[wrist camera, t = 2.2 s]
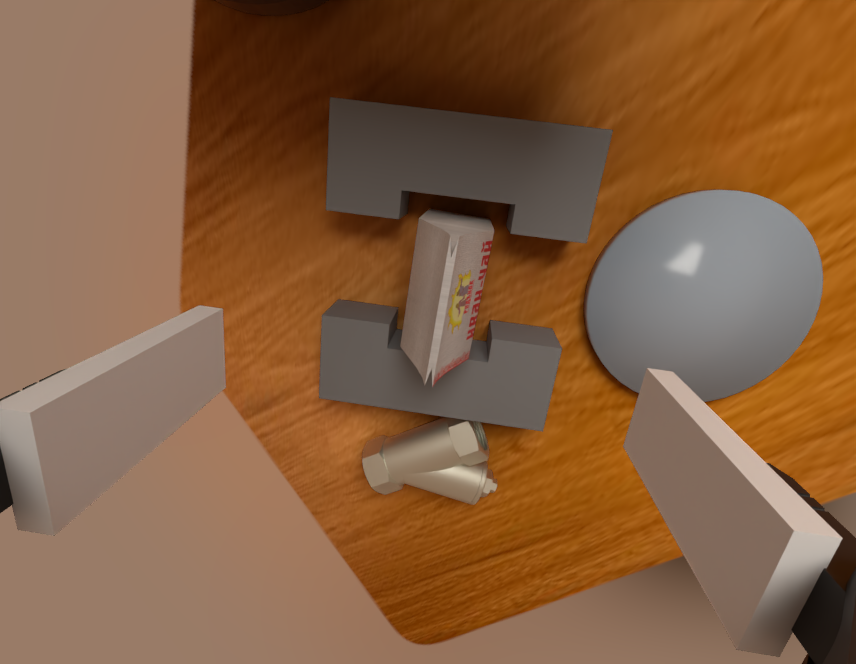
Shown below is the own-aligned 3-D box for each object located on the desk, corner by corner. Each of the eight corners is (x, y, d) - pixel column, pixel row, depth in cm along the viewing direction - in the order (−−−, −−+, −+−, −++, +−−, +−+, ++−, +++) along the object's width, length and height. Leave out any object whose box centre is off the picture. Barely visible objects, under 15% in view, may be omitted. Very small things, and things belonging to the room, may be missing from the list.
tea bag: (413, 313, 30) (386, 378, 21) (429, 208, 28) (407, 227, 18) (469, 323, 30) (467, 393, 20) (489, 218, 27) (498, 243, 18)
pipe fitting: (505, 466, 34) (468, 395, 32) (510, 506, 30) (469, 429, 28) (409, 498, 36) (367, 433, 33) (403, 539, 32) (357, 469, 30)
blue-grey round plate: (613, 176, 26) (618, 176, 25) (848, 204, 25) (863, 205, 24) (563, 380, 30) (566, 387, 30) (763, 409, 30) (773, 416, 29)
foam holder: (347, 106, 26) (329, 97, 23) (594, 135, 25) (612, 130, 22) (334, 374, 32) (318, 398, 29) (535, 403, 31) (542, 431, 28)
